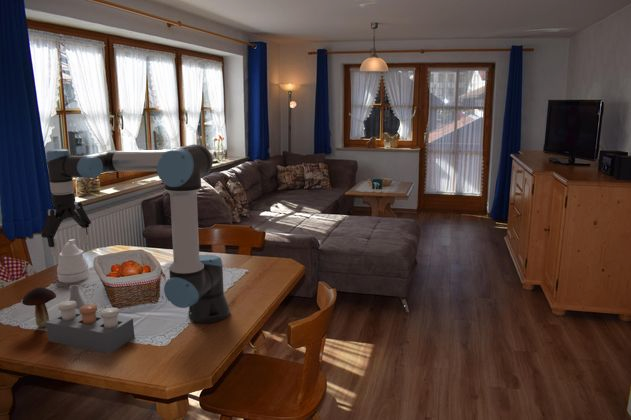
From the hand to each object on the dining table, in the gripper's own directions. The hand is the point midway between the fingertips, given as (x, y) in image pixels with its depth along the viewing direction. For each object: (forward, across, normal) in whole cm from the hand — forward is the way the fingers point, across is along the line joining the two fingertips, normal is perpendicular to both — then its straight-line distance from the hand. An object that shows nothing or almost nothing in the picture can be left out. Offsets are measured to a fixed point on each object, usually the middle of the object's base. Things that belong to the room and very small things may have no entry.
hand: (70, 249), depth 191 cm
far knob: (+22, +13, +10) cm, 28 cm away
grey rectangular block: (+26, +13, +19) cm, 35 cm away
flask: (+26, -3, -4) cm, 27 cm away
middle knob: (+22, +13, +19) cm, 32 cm away
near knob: (+22, +13, +28) cm, 38 cm away
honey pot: (+26, -31, -34) cm, 53 cm away
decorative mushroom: (+26, +12, -5) cm, 29 cm away
